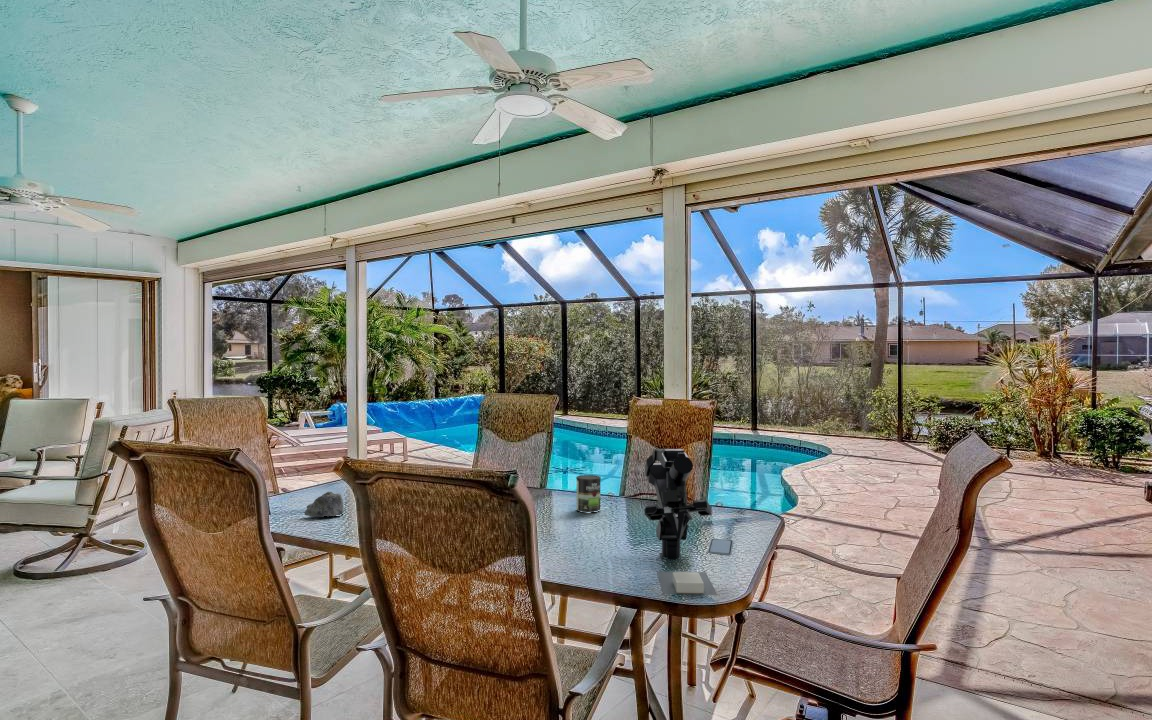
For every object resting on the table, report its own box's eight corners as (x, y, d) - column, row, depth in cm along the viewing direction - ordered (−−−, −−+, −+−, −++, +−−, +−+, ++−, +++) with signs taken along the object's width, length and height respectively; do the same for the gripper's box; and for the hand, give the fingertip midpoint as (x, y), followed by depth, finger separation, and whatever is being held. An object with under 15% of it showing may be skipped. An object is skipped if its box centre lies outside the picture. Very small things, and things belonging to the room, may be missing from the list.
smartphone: (707, 552, 186) (711, 538, 200) (707, 555, 186) (711, 541, 200) (731, 554, 184) (733, 540, 198) (731, 557, 184) (733, 542, 198)
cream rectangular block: (672, 572, 158) (676, 582, 150) (698, 572, 157) (703, 583, 149) (672, 582, 158) (676, 593, 150) (698, 582, 157) (703, 594, 149)
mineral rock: (302, 518, 227) (302, 493, 228) (321, 512, 238) (321, 487, 238) (330, 521, 224) (330, 495, 224) (348, 514, 234) (348, 489, 234)
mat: (656, 574, 166) (656, 571, 166) (705, 575, 165) (705, 572, 166) (663, 597, 150) (663, 593, 150) (717, 598, 149) (717, 594, 149)
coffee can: (605, 511, 240) (605, 477, 240) (583, 514, 235) (583, 480, 235) (592, 506, 249) (592, 473, 249) (571, 509, 244) (571, 476, 244)
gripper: (638, 480, 170) (638, 532, 161) (700, 473, 164) (704, 527, 155) (650, 494, 179) (650, 545, 170) (710, 488, 172) (714, 540, 163)
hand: (678, 539), depth 164 cm, fingers closed
